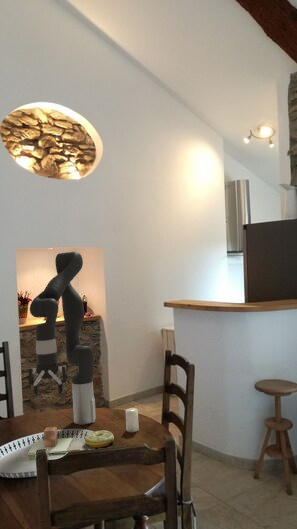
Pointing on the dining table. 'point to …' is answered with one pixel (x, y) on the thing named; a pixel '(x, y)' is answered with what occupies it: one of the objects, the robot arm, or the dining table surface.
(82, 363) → the robot arm
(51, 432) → the terracotta block
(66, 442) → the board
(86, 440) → the decorated donut
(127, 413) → the white rounded cylinder
